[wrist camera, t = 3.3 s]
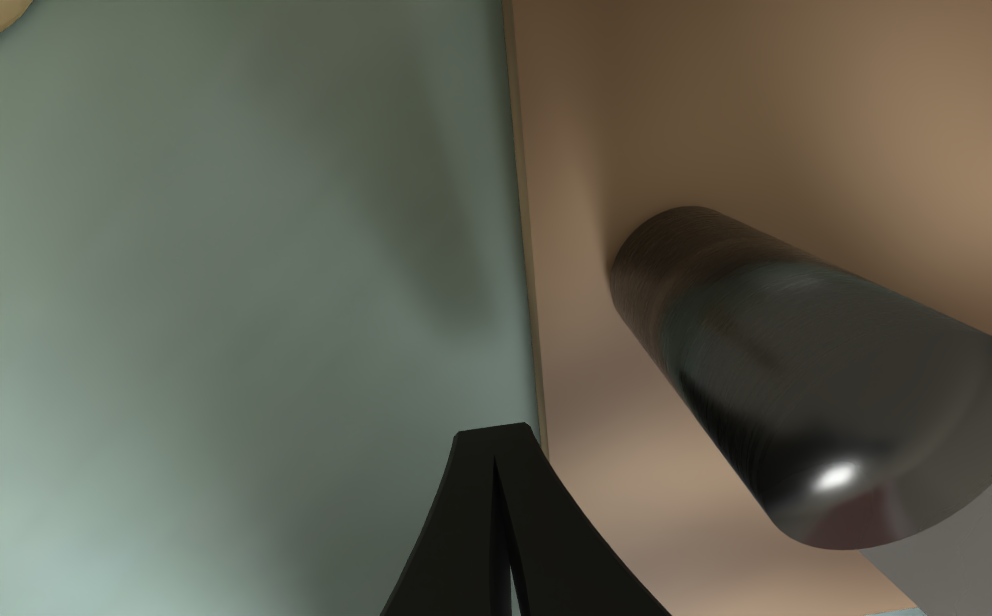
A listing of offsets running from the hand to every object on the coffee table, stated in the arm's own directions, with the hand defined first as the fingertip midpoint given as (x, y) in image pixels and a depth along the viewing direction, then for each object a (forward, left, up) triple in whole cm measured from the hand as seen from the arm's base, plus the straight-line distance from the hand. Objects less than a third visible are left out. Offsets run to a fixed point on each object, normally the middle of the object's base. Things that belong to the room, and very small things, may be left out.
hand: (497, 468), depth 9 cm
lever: (-2, -8, -1) cm, 8 cm away
